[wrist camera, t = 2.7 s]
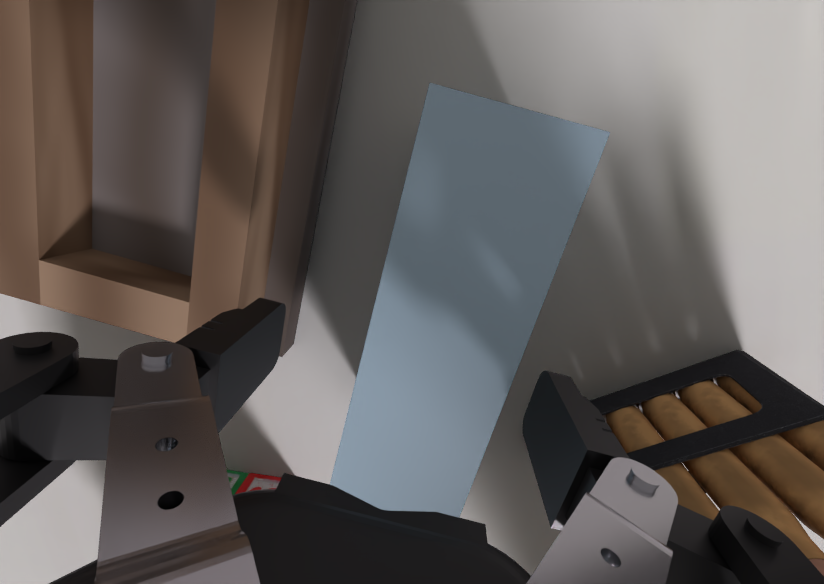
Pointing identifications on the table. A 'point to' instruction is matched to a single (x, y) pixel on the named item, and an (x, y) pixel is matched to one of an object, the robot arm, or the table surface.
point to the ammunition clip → (730, 442)
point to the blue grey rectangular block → (459, 295)
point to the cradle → (165, 154)
